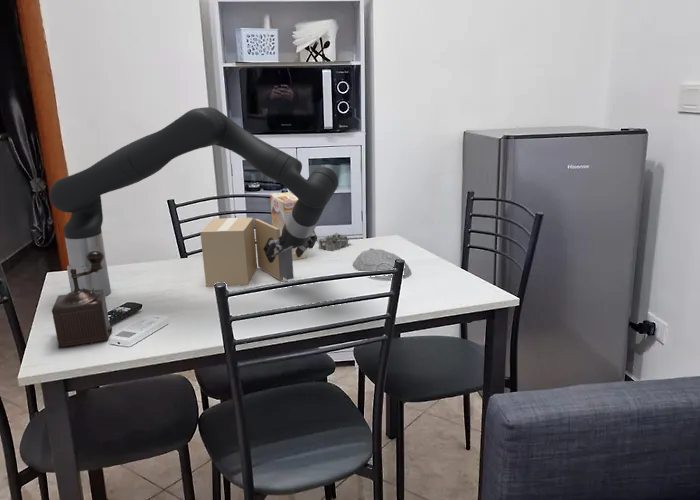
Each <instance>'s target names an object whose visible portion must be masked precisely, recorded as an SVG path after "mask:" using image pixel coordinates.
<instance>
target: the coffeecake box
mask: <svg viewBox="0 0 700 500" xmlns="http://www.w3.org/2000/svg"><path fill="white" fill-rule="evenodd" d="M269 199H270V200H269V201H270V211H271V212H270V213H271V225H272V226H274V227H277V228H279V229H280V236H281V235H282V229H283V227H284V225H285V223H286V220H287V218H288V216H289V214H290V213H291V211H292V210H293V208H294V206H295V204H296V202H297V200H298V198H297V197H296V196H295V195H294V194H293V193H292V192H291V191H287V192H276V193H270V194H269ZM296 249H297V247H296V248H293V249H292V261H297V260H302V259H303V260H304V259H307V250H306V251H304V253H303V254H302V255H301V257H297V255H296V252H295V251H296Z"/></svg>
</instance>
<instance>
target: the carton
mask: <svg viewBox="0 0 700 500" xmlns="http://www.w3.org/2000/svg"><path fill="white" fill-rule="evenodd" d="M199 235H200V244H201V250H202V251H201V253H202V261H203V269H204V280H205V287H208V288H209V287H215V286H214V284H215V283H217V282H225V283H226V284H227V285H229V286H228V287H233V286H232V285H248V286H249V284H251V281H252V280H253V277H254V275H255V273H256V271H257V270H258V258H257V246H256V233H255V221H254V217H228V218H227V217H226V218H213V219H212V220H210V222H209V223H208V224H207V225H206V226H205V227H204V228H203V229H202V230H200V234H199Z"/></svg>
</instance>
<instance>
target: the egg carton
mask: <svg viewBox="0 0 700 500" xmlns="http://www.w3.org/2000/svg"><path fill="white" fill-rule="evenodd" d="M350 239H351V237H348V236H347V235H343V234H339V233H338V232H335V233H333V234H330V235H327V236H324V237H319V238H318V237H317V240H316V242H315V243H318V249H319V250H325V251H326V250H327V252H328V251H331V250H332V251H335V250H336V249H342V247H349V241H350ZM341 246H342V247H341ZM335 248H336V249H335Z"/></svg>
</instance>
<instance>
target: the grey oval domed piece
mask: <svg viewBox="0 0 700 500" xmlns="http://www.w3.org/2000/svg"><path fill="white" fill-rule="evenodd" d="M396 259H402V258H401V257H400V256H398V255H396V254H395V253H393V252H389V251H386V250H384V249H381V248H380V249H379V248H378V249H377V248H376V249H375V248H373V247H371V248H370V247H369V249H367V250H364V251H362V252H360V254H359V255H357V256H356V258H355V260H354V261H353V262H352V267H353V268H354V269H355V271H357V270H358V271H378V270H391V269H394V268H393V267H394V261H395V260H396ZM358 271H357V272H358ZM391 275H392V274H390V275H388V276H375V277H369V278H370V279H373V280H375V281H380V282H392V281H391V278H392V276H391ZM411 275H412V271H411V268H410V267H409V265H408V264H407V263H406V262H405V268H404V275H403V279H402V280H404V279H407V278H409V277H410V276H411Z"/></svg>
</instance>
